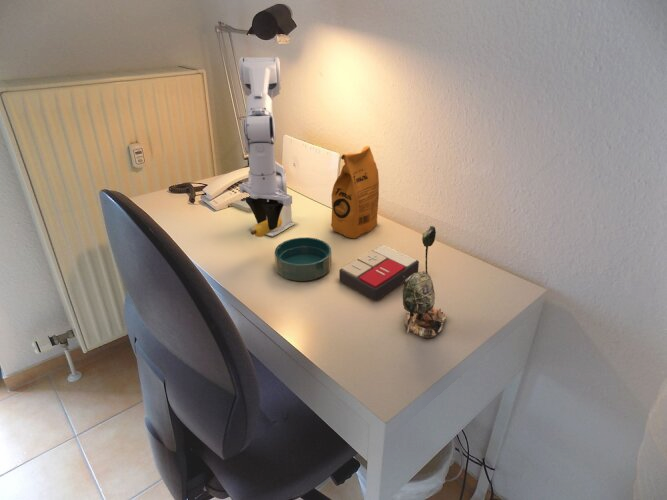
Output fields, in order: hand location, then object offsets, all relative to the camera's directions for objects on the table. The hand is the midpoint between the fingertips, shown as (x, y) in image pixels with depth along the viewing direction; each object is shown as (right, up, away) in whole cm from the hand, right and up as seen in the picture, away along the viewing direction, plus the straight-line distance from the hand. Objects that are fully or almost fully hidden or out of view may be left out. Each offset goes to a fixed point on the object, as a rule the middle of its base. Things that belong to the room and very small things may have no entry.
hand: (267, 226), depth 102 cm
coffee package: (+21, 0, +18) cm, 28 cm away
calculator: (+26, -12, -4) cm, 29 cm away
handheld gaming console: (-8, +10, +34) cm, 36 cm away
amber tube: (0, -1, +1) cm, 1 cm away
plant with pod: (+33, -20, -19) cm, 43 cm away
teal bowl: (+9, -10, 0) cm, 13 cm away
